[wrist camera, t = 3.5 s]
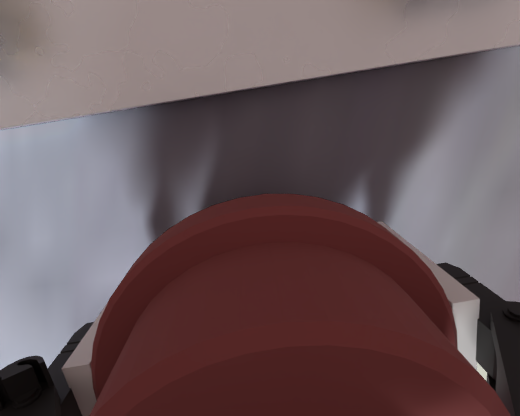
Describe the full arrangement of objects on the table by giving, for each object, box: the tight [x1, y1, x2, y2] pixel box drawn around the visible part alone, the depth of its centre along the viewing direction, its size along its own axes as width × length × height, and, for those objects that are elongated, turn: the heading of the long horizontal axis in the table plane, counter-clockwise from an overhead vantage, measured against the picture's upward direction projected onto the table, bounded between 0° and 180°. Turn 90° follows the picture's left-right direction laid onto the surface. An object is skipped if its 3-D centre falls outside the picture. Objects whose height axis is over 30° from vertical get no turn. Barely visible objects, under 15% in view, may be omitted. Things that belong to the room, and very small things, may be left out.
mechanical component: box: [89, 194, 511, 416], centre depth 11 cm, size 12×10×10 cm
